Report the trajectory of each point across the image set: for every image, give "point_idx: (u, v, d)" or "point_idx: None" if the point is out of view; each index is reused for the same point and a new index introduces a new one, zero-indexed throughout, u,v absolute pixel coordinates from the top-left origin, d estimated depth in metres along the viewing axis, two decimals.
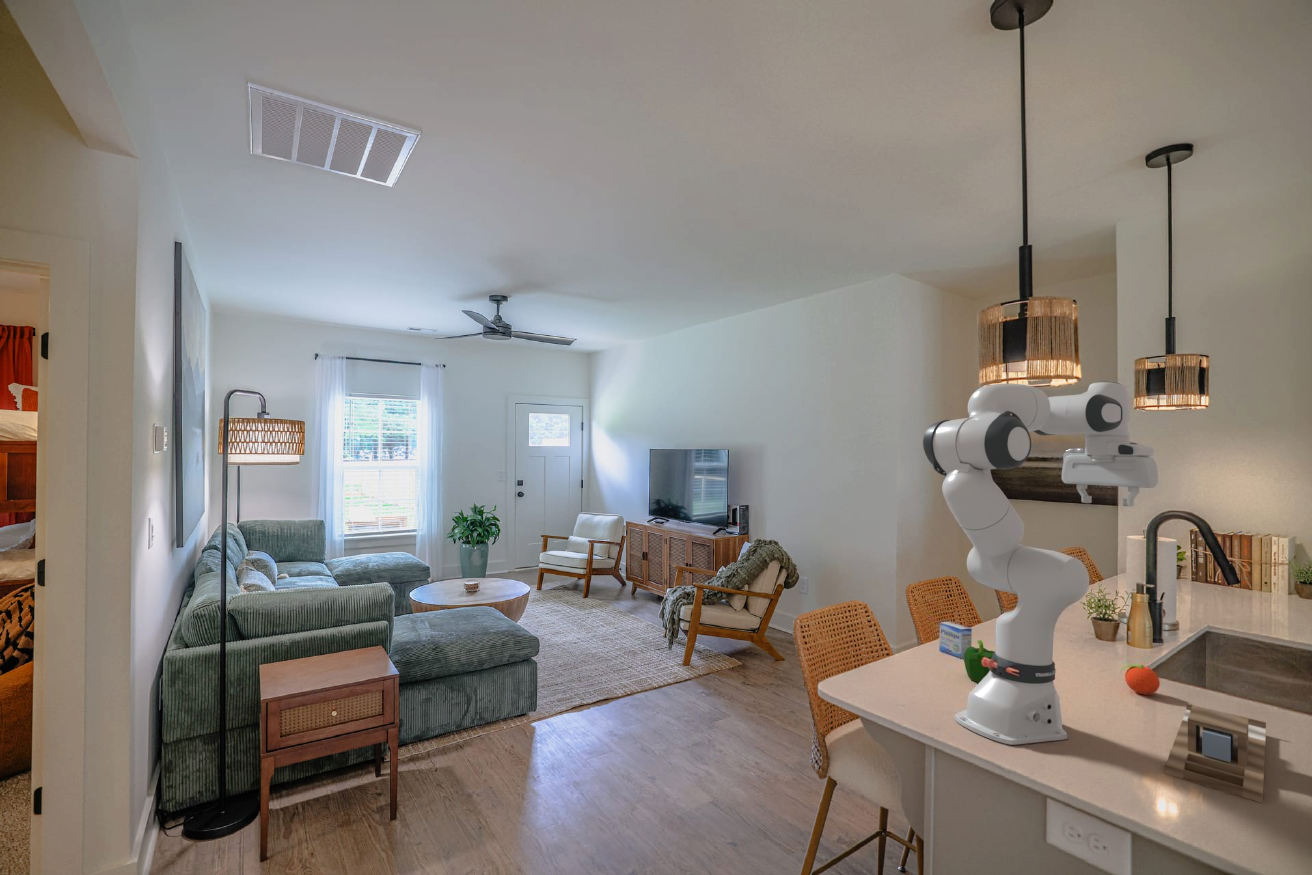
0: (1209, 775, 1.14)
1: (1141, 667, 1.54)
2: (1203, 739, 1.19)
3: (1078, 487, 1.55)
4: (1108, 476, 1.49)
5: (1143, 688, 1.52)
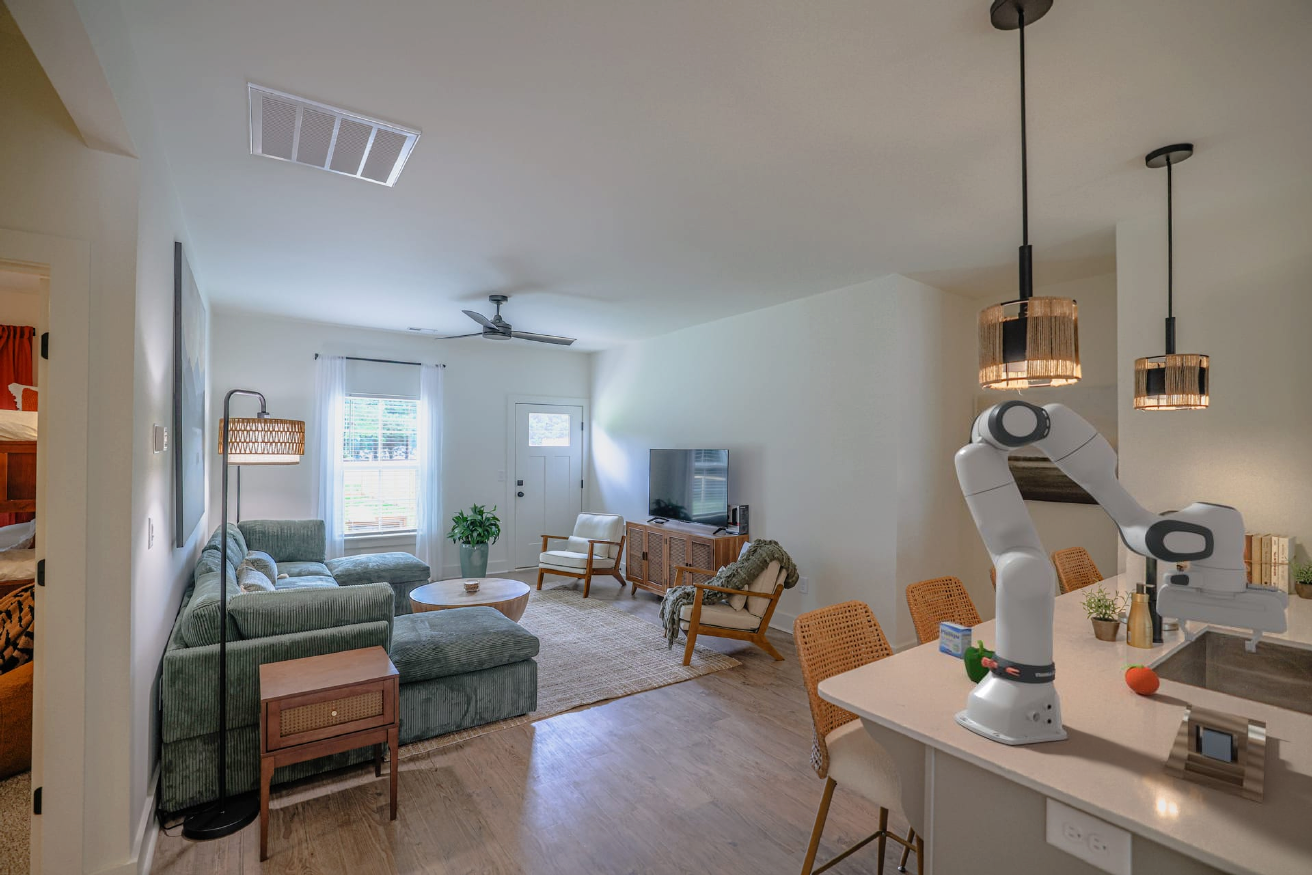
0: (1209, 775, 1.14)
1: (1141, 667, 1.54)
2: (1203, 739, 1.19)
3: None
4: None
5: (1143, 688, 1.52)
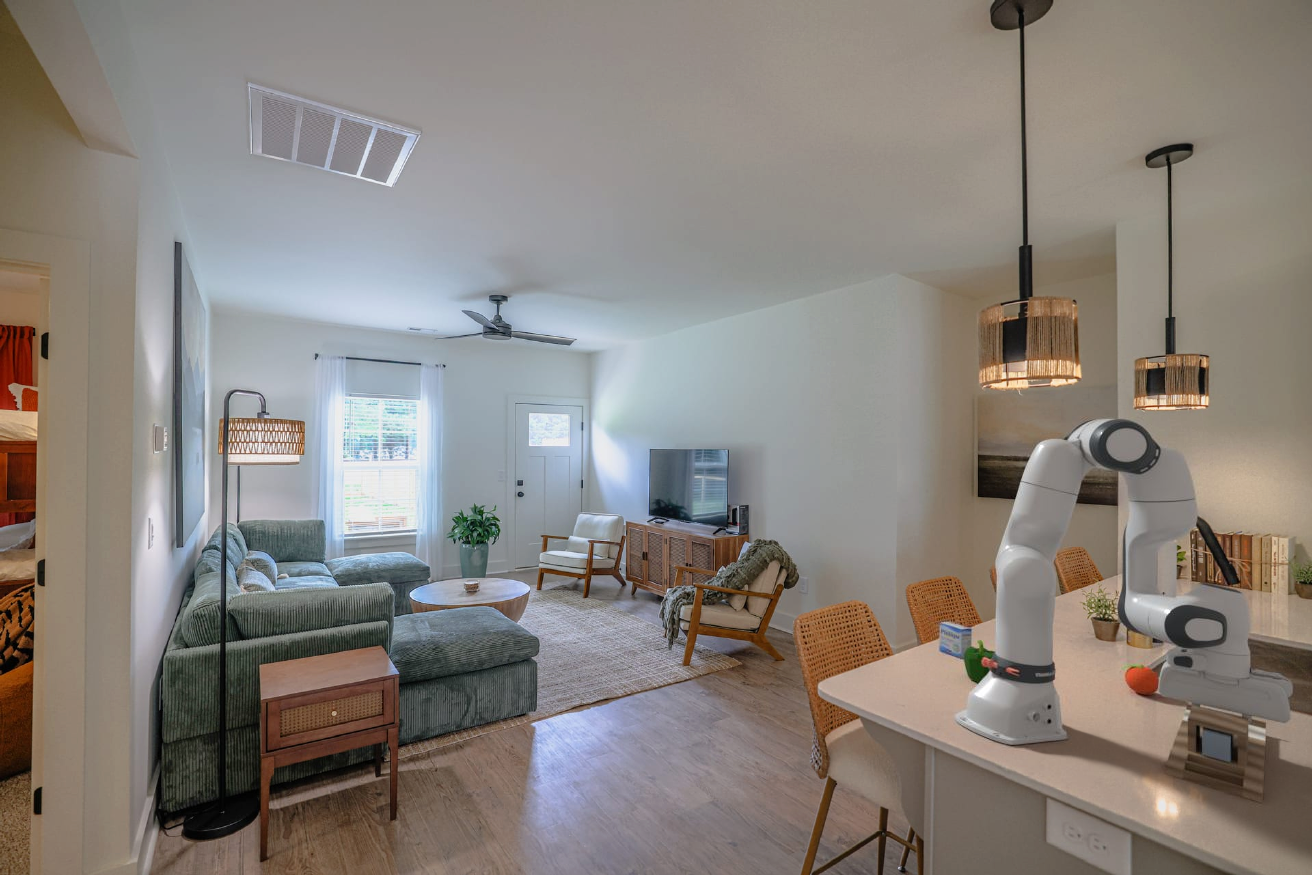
0: (1209, 775, 1.14)
1: (1141, 667, 1.54)
2: (1203, 739, 1.19)
3: None
4: None
5: (1143, 688, 1.52)
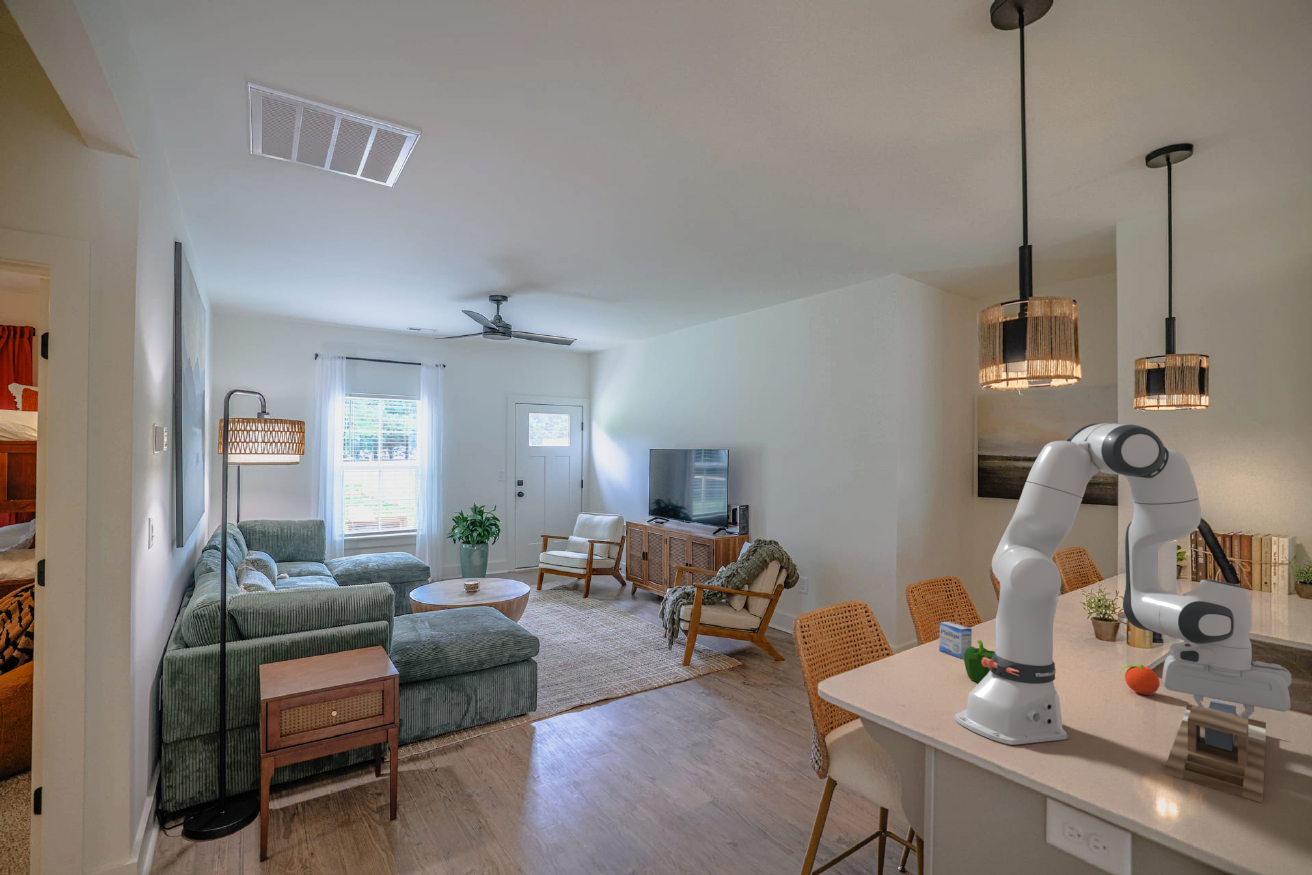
0: (1209, 775, 1.14)
1: (1141, 667, 1.54)
2: (1206, 729, 1.23)
3: None
4: None
5: (1143, 688, 1.52)
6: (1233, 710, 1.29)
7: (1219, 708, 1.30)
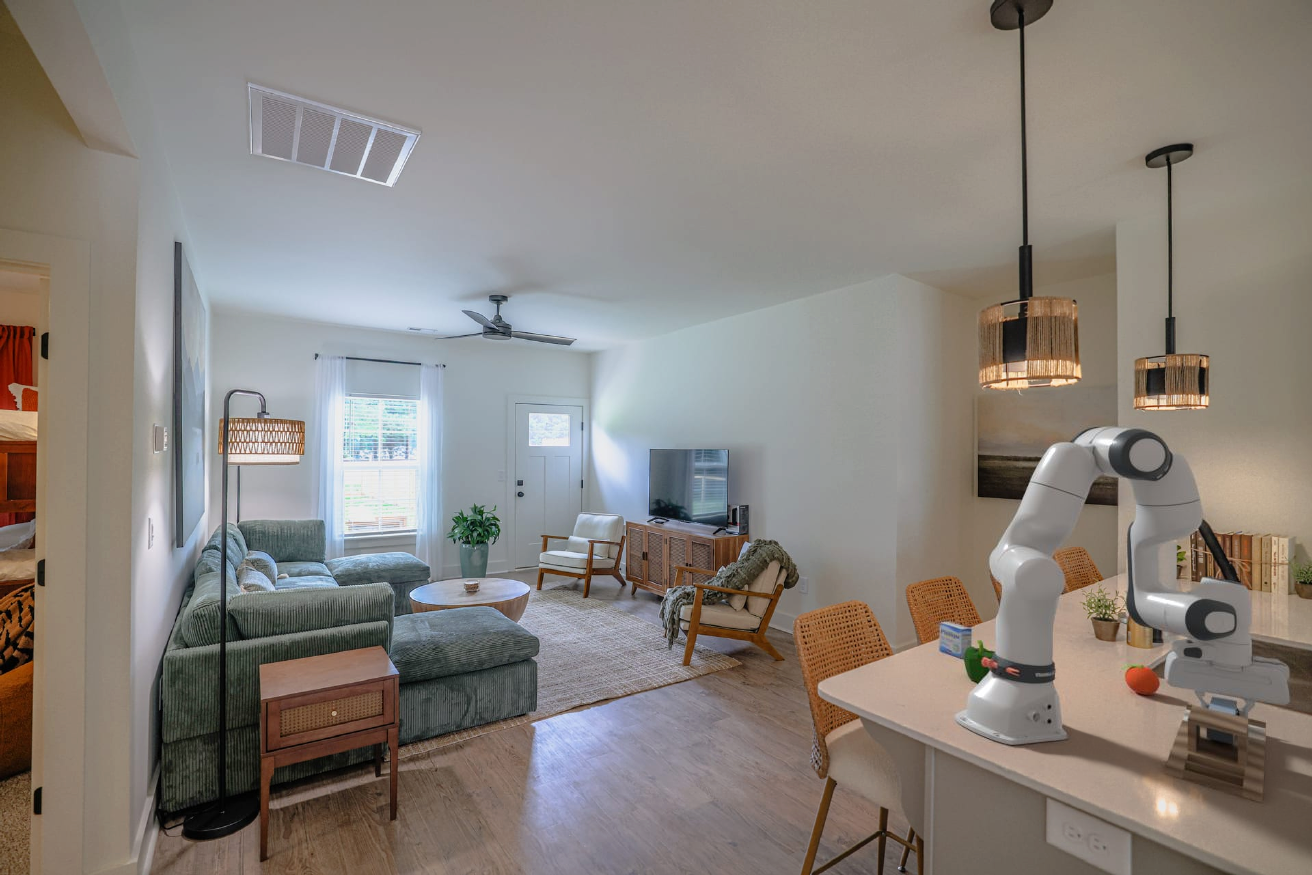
0: (1209, 775, 1.14)
1: (1141, 667, 1.54)
2: None
3: None
4: None
5: (1143, 688, 1.52)
6: (1234, 705, 1.32)
7: (1220, 703, 1.33)
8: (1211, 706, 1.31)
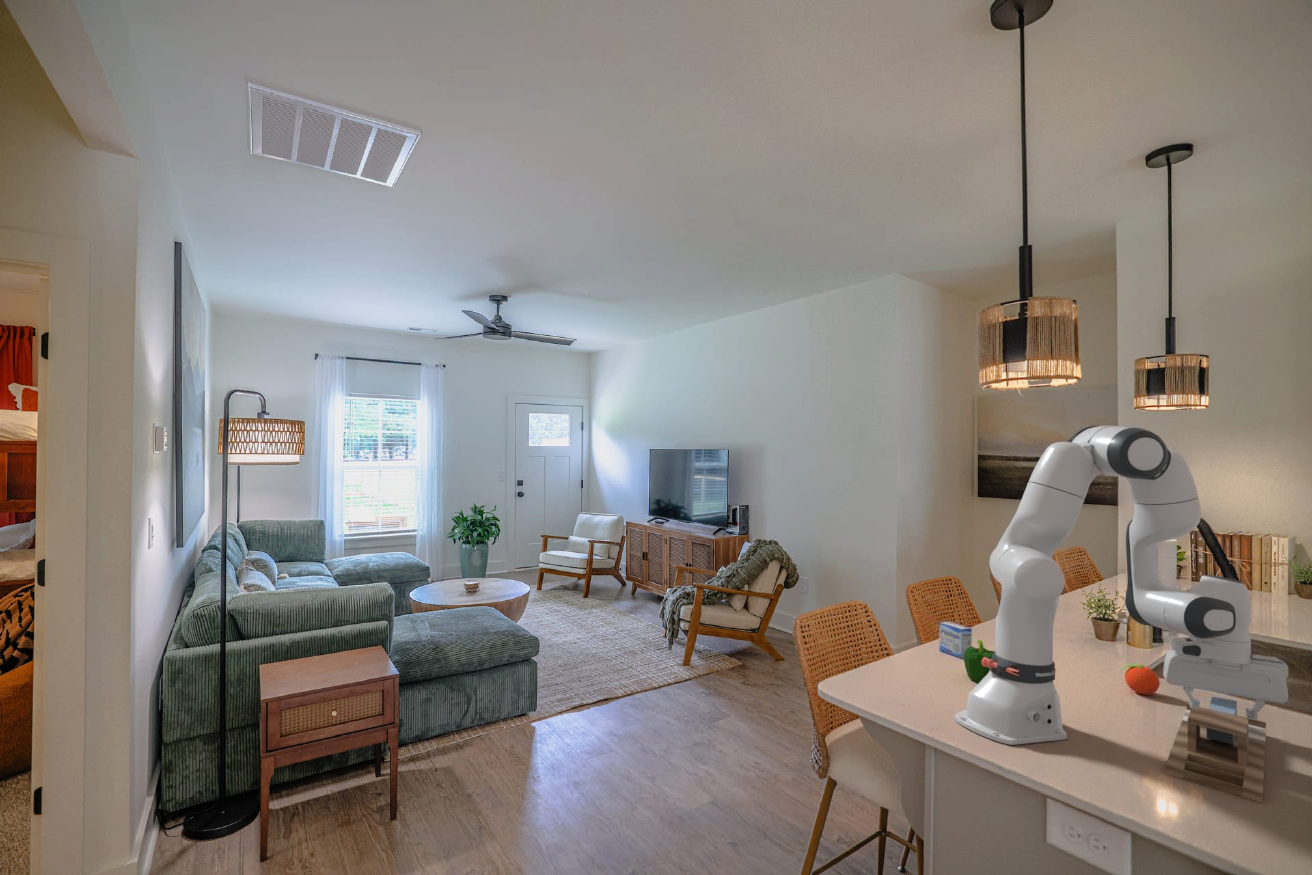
0: (1209, 775, 1.14)
1: (1141, 667, 1.54)
2: None
3: None
4: None
5: (1143, 688, 1.52)
6: (1234, 705, 1.32)
7: (1220, 702, 1.33)
8: (1211, 706, 1.31)
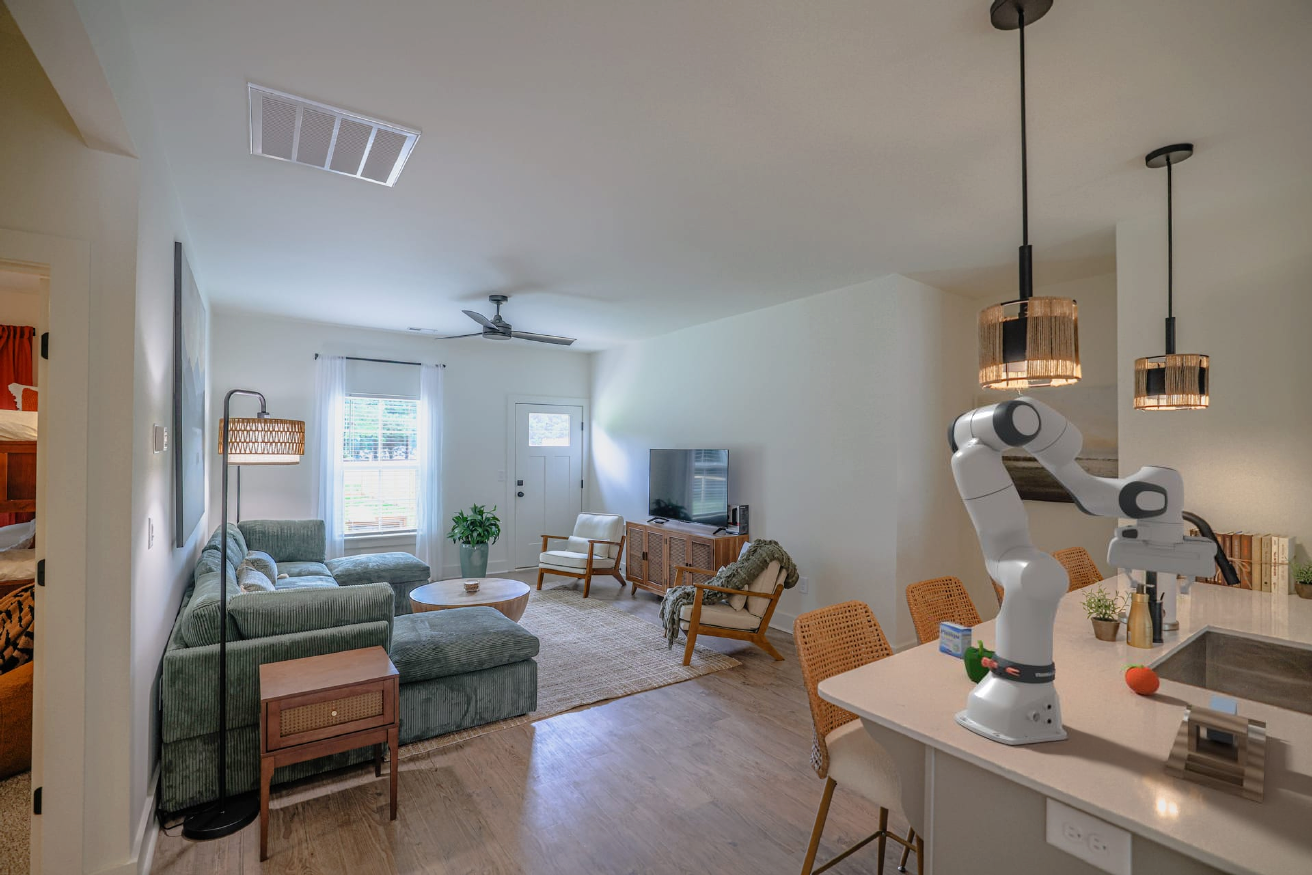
0: (1209, 775, 1.14)
1: (1141, 667, 1.54)
2: None
3: None
4: None
5: (1143, 688, 1.52)
6: (1234, 705, 1.32)
7: (1220, 702, 1.33)
8: (1211, 706, 1.31)
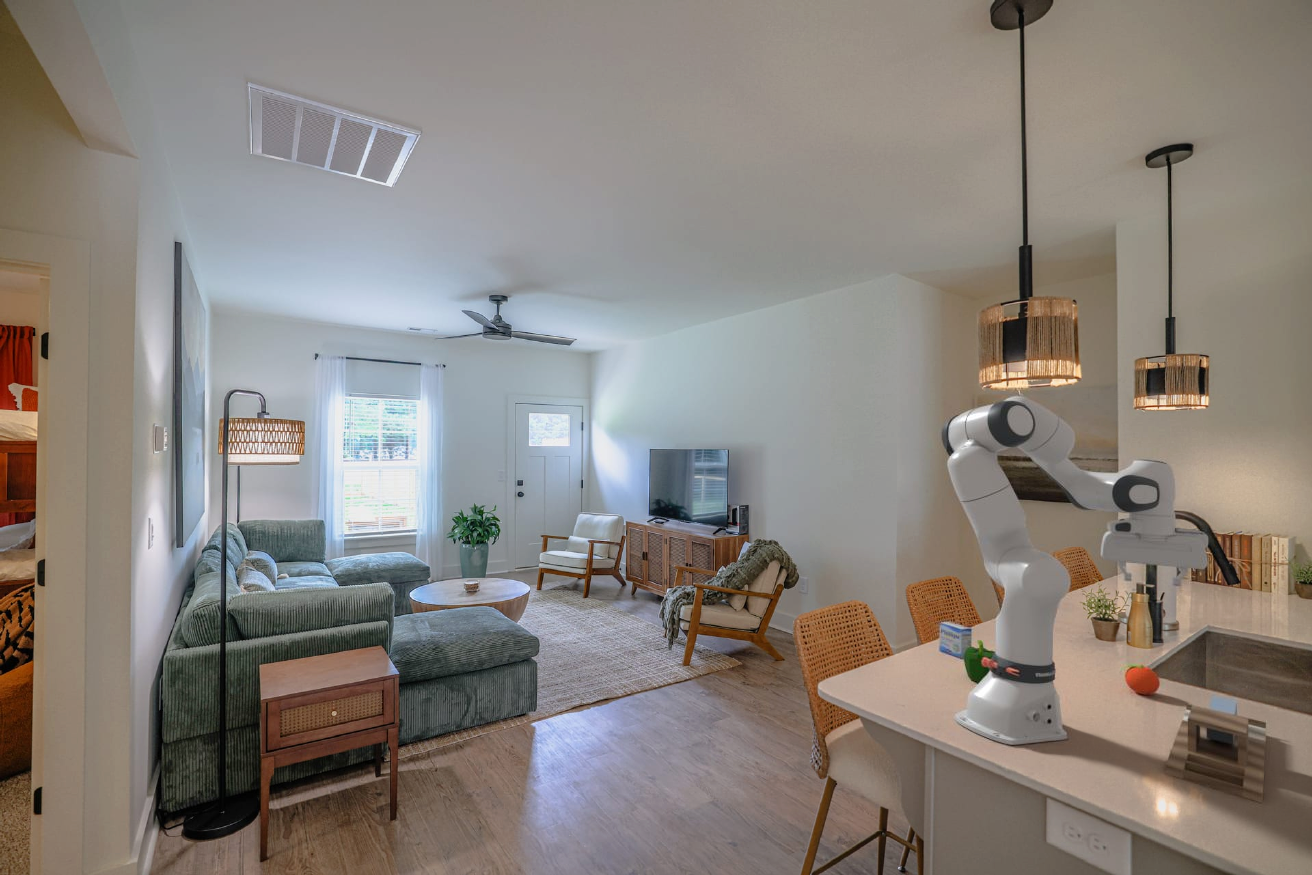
0: (1209, 775, 1.14)
1: (1141, 667, 1.54)
2: None
3: None
4: None
5: (1143, 688, 1.52)
6: (1234, 705, 1.32)
7: (1220, 702, 1.33)
8: (1211, 706, 1.31)
